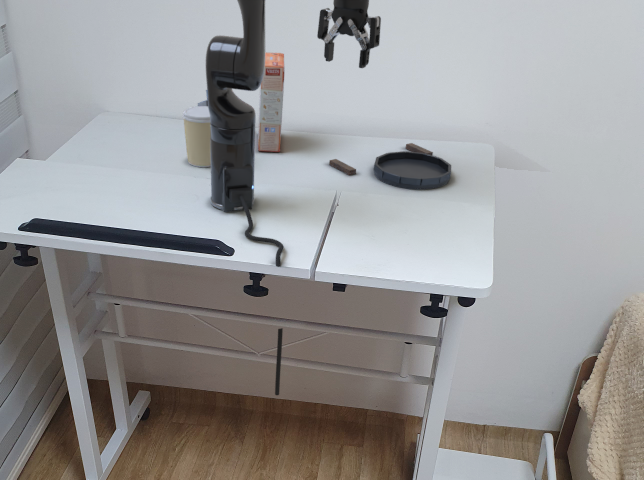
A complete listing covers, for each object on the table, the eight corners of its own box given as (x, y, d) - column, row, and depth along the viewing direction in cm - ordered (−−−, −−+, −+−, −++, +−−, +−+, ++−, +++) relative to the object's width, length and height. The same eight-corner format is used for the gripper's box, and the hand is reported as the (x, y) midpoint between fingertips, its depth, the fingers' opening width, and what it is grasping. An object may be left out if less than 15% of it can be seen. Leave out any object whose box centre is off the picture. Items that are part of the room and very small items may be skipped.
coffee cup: (225, 156, 180) (225, 106, 173) (219, 169, 172) (219, 118, 165) (188, 153, 180) (186, 104, 173) (181, 167, 173) (179, 116, 166)
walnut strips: (432, 156, 184) (433, 152, 183) (349, 175, 172) (349, 170, 171) (411, 147, 189) (411, 142, 189) (329, 164, 177) (329, 160, 176)
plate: (463, 185, 169) (465, 174, 167) (394, 192, 164) (395, 181, 163) (426, 159, 183) (428, 149, 181) (361, 165, 178) (363, 154, 176)
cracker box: (281, 153, 183) (285, 65, 170) (257, 152, 183) (259, 64, 170) (281, 135, 194) (284, 52, 182) (258, 134, 194) (261, 51, 182)
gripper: (314, -20, 152) (309, 62, 161) (374, -12, 145) (365, 73, 155) (332, -24, 156) (327, 55, 166) (391, -16, 150) (381, 66, 160)
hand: (345, 64), depth 161 cm, fingers open, 8 cm apart
